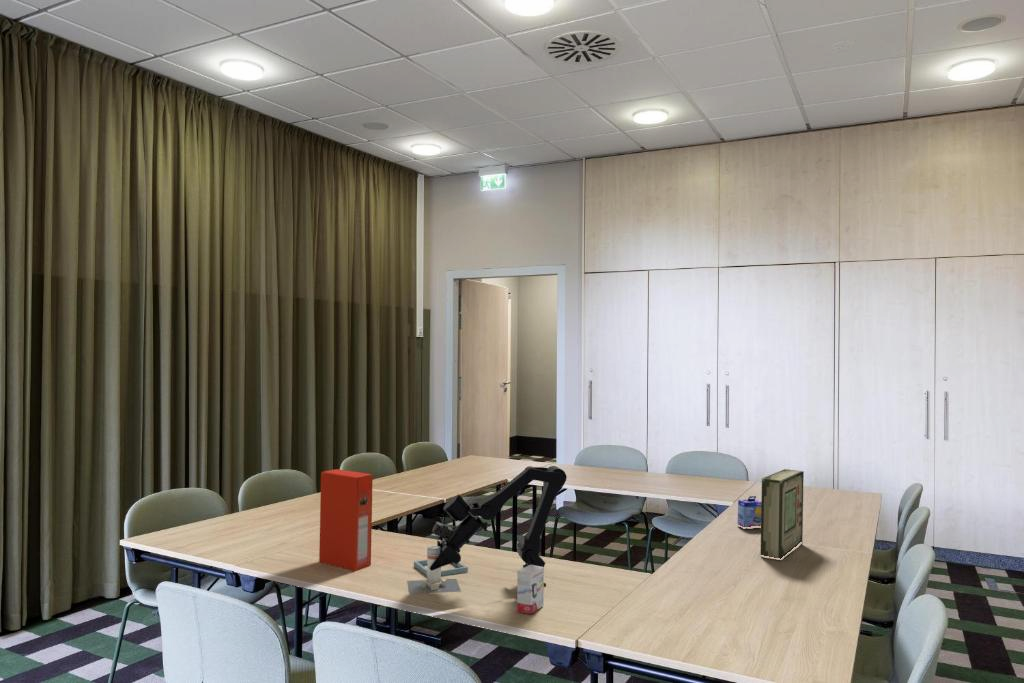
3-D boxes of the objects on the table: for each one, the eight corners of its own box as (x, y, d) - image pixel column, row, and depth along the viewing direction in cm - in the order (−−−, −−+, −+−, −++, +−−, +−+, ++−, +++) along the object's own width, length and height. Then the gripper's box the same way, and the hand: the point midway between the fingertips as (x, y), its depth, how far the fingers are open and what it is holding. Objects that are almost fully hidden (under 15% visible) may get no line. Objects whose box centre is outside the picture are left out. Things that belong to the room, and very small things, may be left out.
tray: (450, 563, 247) (450, 556, 247) (467, 574, 235) (467, 567, 235) (413, 568, 240) (413, 561, 240) (429, 580, 228) (429, 573, 228)
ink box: (530, 615, 200) (531, 574, 200) (515, 611, 203) (516, 571, 203) (544, 606, 208) (545, 566, 208) (529, 602, 210) (530, 563, 210)
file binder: (354, 571, 235) (356, 477, 236) (318, 562, 244) (321, 471, 245) (370, 565, 242) (373, 474, 243) (335, 557, 251) (337, 468, 252)
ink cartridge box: (744, 530, 305) (744, 497, 305) (736, 527, 310) (737, 494, 310) (763, 528, 307) (763, 496, 308) (755, 525, 313) (755, 493, 313)
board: (456, 581, 227) (456, 573, 228) (460, 594, 216) (461, 585, 216) (407, 583, 224) (407, 575, 224) (409, 596, 212) (409, 587, 213)
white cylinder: (437, 582, 223) (438, 545, 223) (443, 587, 219) (444, 549, 219) (424, 584, 221) (425, 547, 221) (429, 589, 217) (430, 550, 217)
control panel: (780, 561, 259) (782, 481, 260) (760, 557, 264) (761, 478, 264) (802, 544, 283) (803, 471, 283) (783, 541, 288) (784, 469, 288)
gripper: (444, 507, 230) (410, 541, 228) (451, 520, 212) (414, 558, 210) (467, 530, 232) (433, 564, 229) (475, 545, 213) (439, 583, 211)
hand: (429, 566), depth 220 cm, fingers open, 5 cm apart
